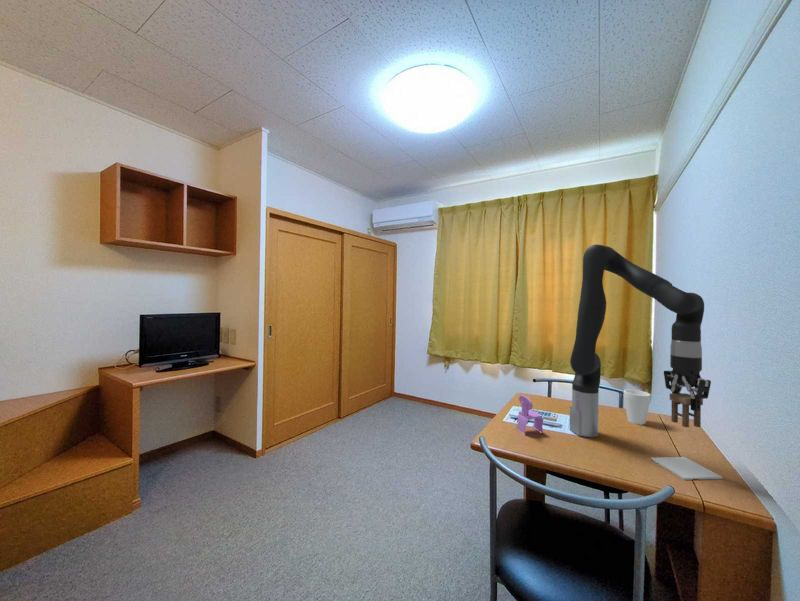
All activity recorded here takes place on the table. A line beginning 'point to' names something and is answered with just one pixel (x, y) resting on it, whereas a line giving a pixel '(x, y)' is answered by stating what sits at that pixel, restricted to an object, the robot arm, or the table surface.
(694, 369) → the robot arm
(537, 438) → the table surface
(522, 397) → the toy chair
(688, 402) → the stool
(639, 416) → the foam cup
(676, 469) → the mat
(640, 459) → the table surface
